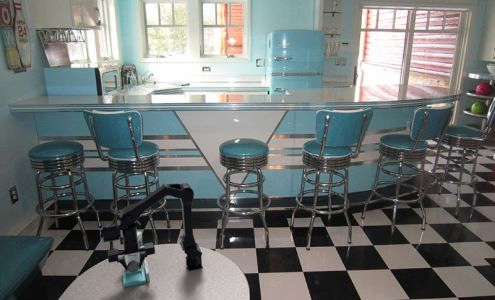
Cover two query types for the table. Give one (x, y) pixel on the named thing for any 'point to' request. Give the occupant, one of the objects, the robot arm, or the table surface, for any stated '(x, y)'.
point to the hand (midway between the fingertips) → (133, 269)
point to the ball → (133, 266)
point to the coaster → (134, 278)
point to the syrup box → (140, 244)
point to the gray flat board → (146, 270)
